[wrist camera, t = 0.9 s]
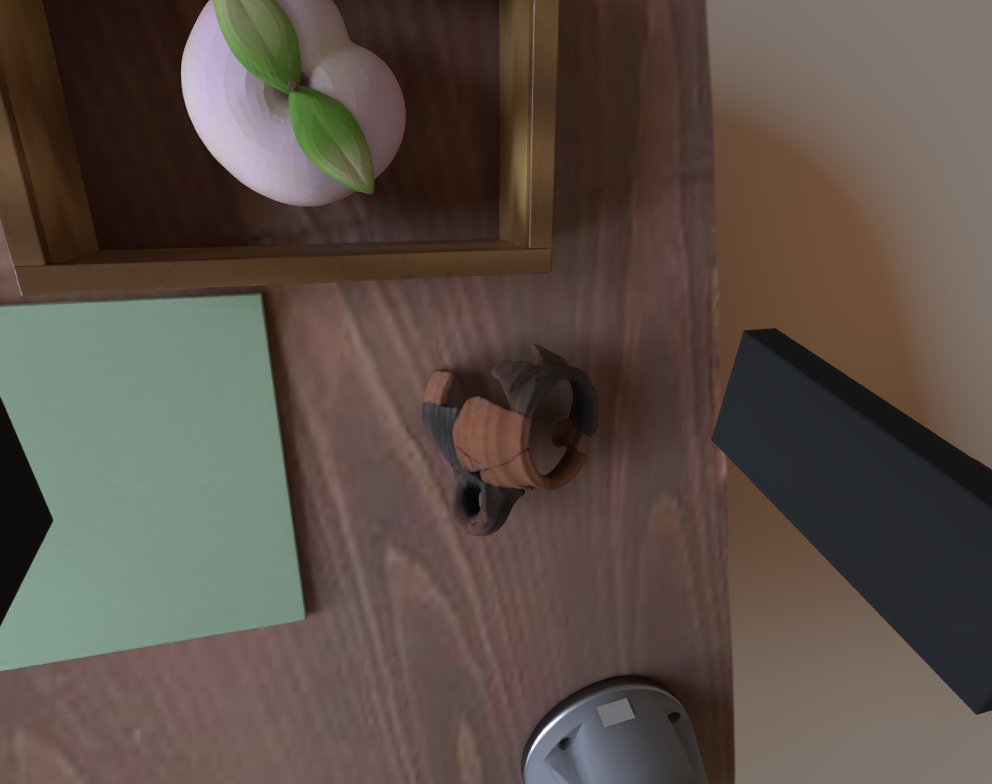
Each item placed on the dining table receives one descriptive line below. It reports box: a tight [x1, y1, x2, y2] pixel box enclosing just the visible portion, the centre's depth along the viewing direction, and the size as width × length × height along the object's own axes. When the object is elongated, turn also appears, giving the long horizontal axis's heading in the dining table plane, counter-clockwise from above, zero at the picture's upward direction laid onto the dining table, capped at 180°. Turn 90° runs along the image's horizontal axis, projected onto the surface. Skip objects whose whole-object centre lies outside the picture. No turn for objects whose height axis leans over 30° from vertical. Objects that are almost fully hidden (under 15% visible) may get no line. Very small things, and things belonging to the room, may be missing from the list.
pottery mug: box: [422, 344, 599, 536], centre depth 37 cm, size 12×10×8 cm
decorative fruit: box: [181, 0, 406, 206], centre depth 26 cm, size 9×8×10 cm
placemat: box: [0, 292, 306, 671], centre depth 35 cm, size 22×18×1 cm
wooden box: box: [0, 0, 560, 296], centre depth 28 cm, size 15×23×7 cm, turn 90°
